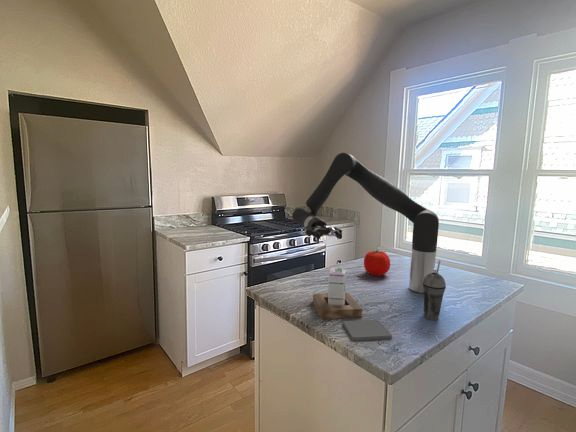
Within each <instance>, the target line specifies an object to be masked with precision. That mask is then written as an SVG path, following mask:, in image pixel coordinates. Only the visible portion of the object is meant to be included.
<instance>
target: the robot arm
mask: <svg viewBox="0 0 576 432" xmlns="http://www.w3.org/2000/svg"><path fill="white" fill-rule="evenodd" d="M344 176H346V177H348V178H350V179H352V180H353V181H355V182H356V183H357V184H359V185H360V186H361V187H362V188H363V189H364V190H365V191H366V192H367V194H369V195H370V196H371V197H372V198H374V199H375V200H376V201H378V202H379V203H380V204H382V205H383V206H385V207H387V208H389V209H391V210H393V211H395V212H397V213H398V214H401V215H403V216H404V217H405V218H406V219H408V221H410V222H412V225H413V226H412V241H411V243H412V244H411V258H410V268H409V281H408V289H409V290H411V291H412V292H415V293H420V294H424V290H423V280H424V278H425V276H426V275H428V274H429V273H436V272H437V268H436V259H437V258H436V255H437V249H438V248H437V247H438V238H439V224H440V221H439V217H438V215H437V214H436V213H435V212H434V211H432V210H430V209H428V208H426V207H425V206H422V205H421V204H419V203H418V202H416V201H415V200H413V199H412V198H411V197H409V196H408V195H407V194H406V193H405V192H404V191H402V190H401V189H400V188H398V187H397V186H396V185H395V184H393V183H392V182H390V181H389V180H387V179H386V178H384V177H383V176H381V175H379V174H377V173H376V172H373V171H372V170H369V169H368V167H366V166H364V165H363V164H362V163H361V162H360V161H359V160H357V158H356V157H355V156H353V155H352V154H350V153H349V152H340V153H338V154H336V155H335V157H334V159H333V161H332V162H331V164H330V166H329V168H328V170H327V171H326V173H325V175H324V177H323V178H322V180H321V181H320V182H319V184H318V185H317V187H316V188H315V189H314V191H313V192H312V193H311V195H309V197H308V198H307V200H306V201H305V205H306V207H307V208H308V209H309V210H310V212H309V211H307V210H305V209H304V208H302V207H298V208H296V209H294V211H292V214H291V215H292V216H291V217H292V220H293V221H294V223H296V224H298V225H300V226H301V227H303V228H304V234H305V235H306V236H307V237H311V236H312V237H313V238H316V239H317V240H321V237H323V236H324V237H325V236H326V237H330V238H331V237H336V238H337V239H339V240H341V239H342V238H343V229H341V228H339V227H337V226H333V227H331V226H328V225H327V222H326V221H325V220H323V219H321V218H320V217H319V216H317V214H318V213H319V211H320V209H321V208H322V206H323V205H324V204H325V203H326V202H327V200H328V198H330V195H331V193H332V191H333V189H334V188H335V186H336V185H337V183H338V182H339V181H340V180H341V179H342V178H343V177H344Z"/></svg>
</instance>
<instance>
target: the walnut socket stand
mask: <svg viewBox="0 0 576 432" xmlns="http://www.w3.org/2000/svg"><path fill="white" fill-rule="evenodd" d="M312 303H313V305H314V307H315V309H316V311H317V313H318V315H319V317H320V319H321V320H331V319H333V320H335V319H352V318H353V319H355V318H362V317H363V308H362V307H361V306H360V304H359V303H358V302H357V301H356V300H355V299H354V297H353V296H352V295H351V293H350V292H345V305H341V306H329V305H328V293H312Z"/></svg>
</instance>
